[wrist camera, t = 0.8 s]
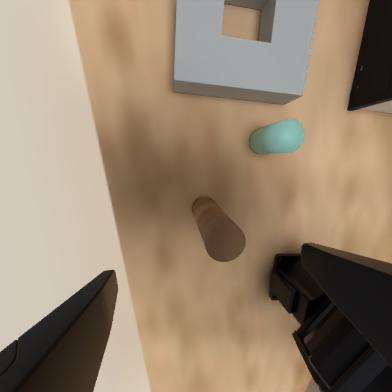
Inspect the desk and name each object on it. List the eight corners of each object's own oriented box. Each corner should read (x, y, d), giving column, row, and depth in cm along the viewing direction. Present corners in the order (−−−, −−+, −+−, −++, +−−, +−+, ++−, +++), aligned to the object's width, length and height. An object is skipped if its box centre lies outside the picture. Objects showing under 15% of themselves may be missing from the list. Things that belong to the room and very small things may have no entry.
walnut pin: (216, 197, 21) (247, 224, 13) (214, 220, 22) (242, 261, 13) (192, 196, 21) (207, 223, 12) (191, 219, 21) (204, 261, 13)
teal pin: (275, 129, 21) (307, 120, 16) (271, 154, 21) (301, 153, 16) (251, 126, 20) (276, 117, 15) (248, 152, 21) (271, 151, 16)
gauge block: (303, -30, 18) (329, -66, 15) (284, 104, 20) (303, 95, 17) (179, -57, 16) (180, -105, 13) (173, 92, 18) (173, 79, 16)
